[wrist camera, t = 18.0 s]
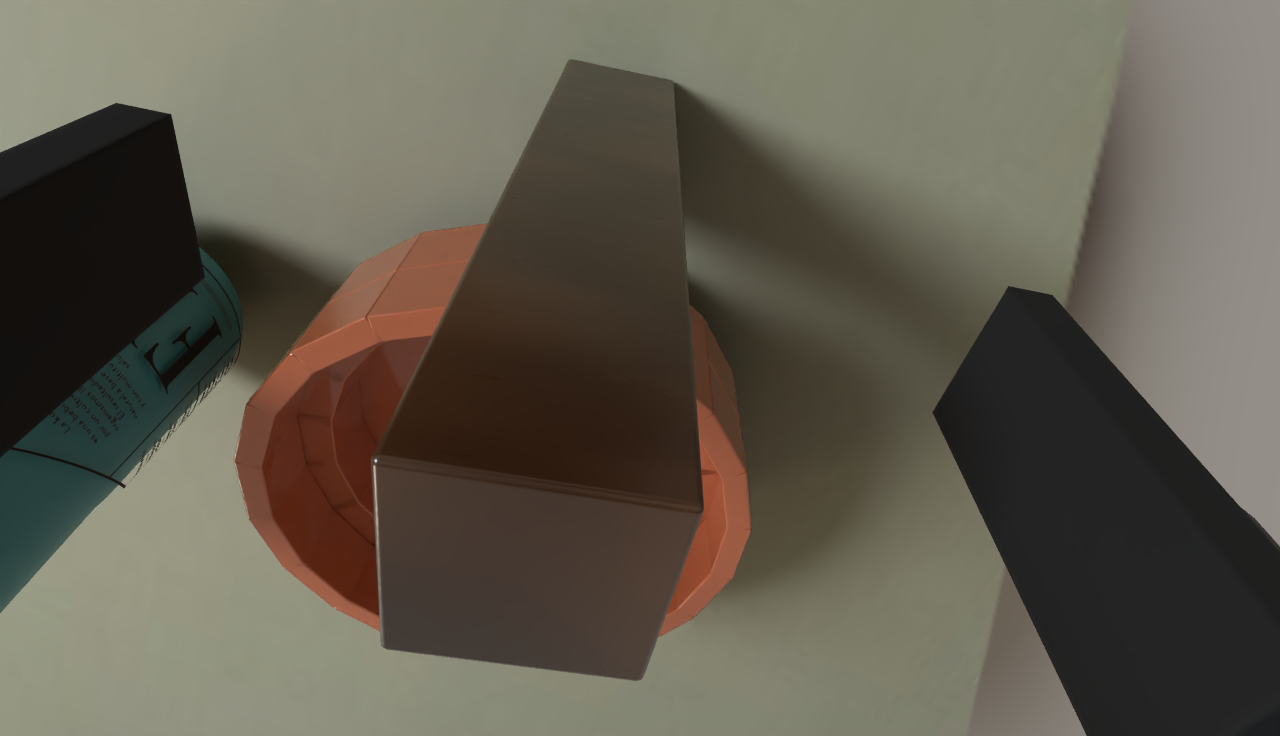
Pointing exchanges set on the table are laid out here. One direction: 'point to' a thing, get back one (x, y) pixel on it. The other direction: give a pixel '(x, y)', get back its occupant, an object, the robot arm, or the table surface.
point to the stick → (554, 408)
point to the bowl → (365, 401)
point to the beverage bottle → (112, 425)
